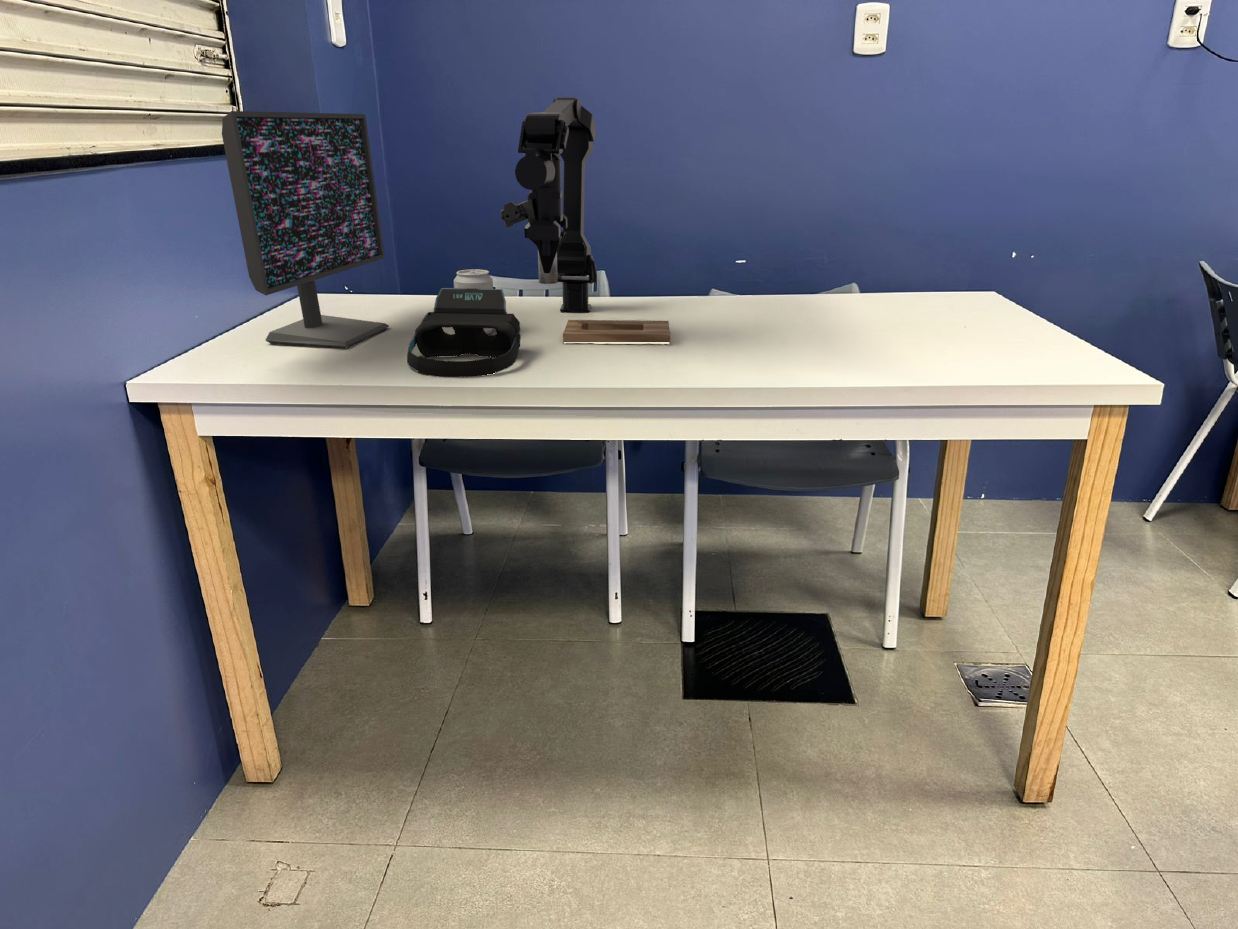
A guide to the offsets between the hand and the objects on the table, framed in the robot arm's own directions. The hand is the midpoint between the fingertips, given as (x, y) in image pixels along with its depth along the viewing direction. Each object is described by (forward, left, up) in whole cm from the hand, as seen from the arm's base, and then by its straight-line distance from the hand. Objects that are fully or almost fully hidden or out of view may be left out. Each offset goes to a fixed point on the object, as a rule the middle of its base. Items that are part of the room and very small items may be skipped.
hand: (548, 271), depth 165 cm
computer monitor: (+4, -42, -12) cm, 44 cm away
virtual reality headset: (+22, -12, -12) cm, 28 cm away
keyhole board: (+3, +13, -12) cm, 18 cm away
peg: (0, 0, -2) cm, 2 cm away
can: (0, -15, -12) cm, 19 cm away
